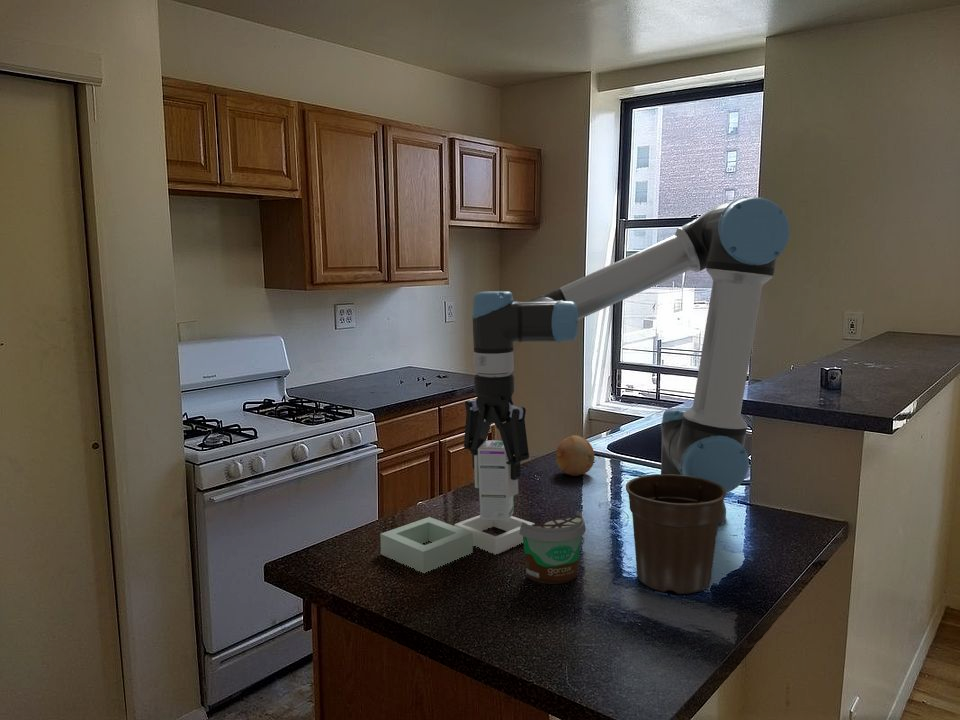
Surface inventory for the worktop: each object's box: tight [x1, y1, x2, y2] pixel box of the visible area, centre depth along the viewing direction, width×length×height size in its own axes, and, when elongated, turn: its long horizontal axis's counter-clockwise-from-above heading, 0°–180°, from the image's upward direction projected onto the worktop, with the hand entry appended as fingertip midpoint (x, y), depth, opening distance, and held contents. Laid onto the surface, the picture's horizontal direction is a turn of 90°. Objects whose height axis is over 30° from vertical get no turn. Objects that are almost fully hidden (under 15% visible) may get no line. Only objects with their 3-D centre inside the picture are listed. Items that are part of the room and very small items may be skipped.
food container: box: [519, 510, 587, 585], centre depth 124 cm, size 12×6×10 cm, turn 117°
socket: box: [379, 516, 474, 574], centre depth 135 cm, size 12×12×4 cm
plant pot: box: [625, 473, 727, 595], centre depth 123 cm, size 16×16×16 cm
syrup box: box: [478, 439, 515, 522], centre depth 141 cm, size 6×6×14 cm
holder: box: [453, 514, 536, 556], centre depth 142 cm, size 11×11×3 cm
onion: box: [555, 434, 595, 477], centre depth 182 cm, size 10×10×10 cm
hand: (496, 490), depth 141 cm, fingers closed on syrup box, 7 cm apart
